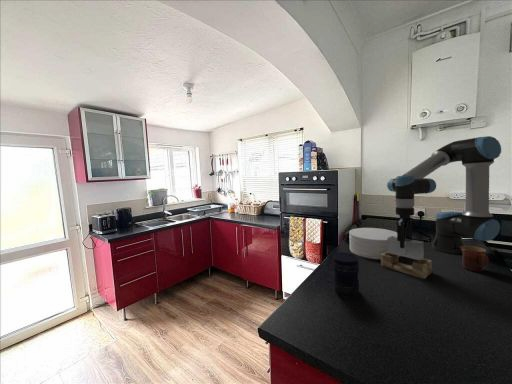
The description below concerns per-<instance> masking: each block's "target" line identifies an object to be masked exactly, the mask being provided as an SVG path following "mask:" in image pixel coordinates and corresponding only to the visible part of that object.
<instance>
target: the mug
mask: <svg viewBox="0 0 512 384" xmlns="http://www.w3.org/2000/svg"><path fill="white" fill-rule="evenodd" d="M461 250H462V254H461V255H462V259H461V264H462V267H463V268H464V269H466V270H468V271H471V272H477V273H480V272H483V271H484V268H485V267H487V266H488V264H489V257H488V255H486V253H487V249H485V248H483V247H479V246H476V245H475V246H473V245H465V246H461Z"/></svg>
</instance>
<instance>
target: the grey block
mask: <svg viewBox="0 0 512 384" xmlns="http://www.w3.org/2000/svg"><path fill="white" fill-rule="evenodd" d="M405 242H406V255H403V254H399V241H397V237H394V236H390V237H388V253H391V254H395V255H399V256H400V257H403V258H404V257H405V258H408V259H413V260H416V261H418V260H422V259H425V258H424V257H425V256H424V253H425V252H424V249H425V248H424V246H425V245H424V241H423V240H416V239H405Z"/></svg>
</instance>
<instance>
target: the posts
mask: <svg viewBox="0 0 512 384" xmlns="http://www.w3.org/2000/svg"><path fill="white" fill-rule="evenodd" d="M399 258H400V257H398V255H395V254H391V253H388V251H386V252H385V253H383V254H381V259H380V267H382V268H386V269H390V270H392V271H396V272H399V273H404V274H406V275H410V276H414V277H417V278H420V279H424V280H426V279H427V278H428V276H429V275H431V274H432V273H433V270H432V269H433V268H432V265H433V264H432V262H433V261H432V260H431V259H427V258H423V259H422V260H417V262H415V261H413V262H412V264H411V265H410V264H406V263H403V262H399Z"/></svg>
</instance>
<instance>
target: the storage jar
mask: <svg viewBox="0 0 512 384" xmlns="http://www.w3.org/2000/svg"><path fill="white" fill-rule="evenodd" d="M332 258H333V262H332V264H333V270H334V272H333V273H334V276H333V286H334V287H333V289H334V292H335V294H337V295H338V294H339V295H338V296H340V295H341V297H343V296H345V297H344V298H347V297H353V298H357V297H358V296H359V295H360V281H359V271H360V269H359V268H360V265H359V257H358V255H356V254H354V253H348V252H337V253H335V254H333V257H332ZM356 296H357V297H356Z"/></svg>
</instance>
